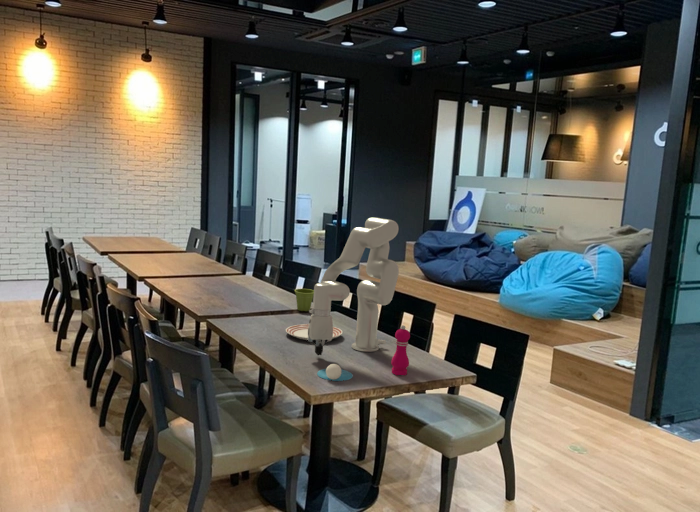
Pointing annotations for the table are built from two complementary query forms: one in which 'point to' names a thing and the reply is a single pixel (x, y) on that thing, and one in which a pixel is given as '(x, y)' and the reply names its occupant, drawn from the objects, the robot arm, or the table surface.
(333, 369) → the ball
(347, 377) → the disc
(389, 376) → the table surface
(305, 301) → the plant pot
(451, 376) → the table surface
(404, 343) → the pepper mill
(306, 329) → the dinner plate
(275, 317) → the table surface
